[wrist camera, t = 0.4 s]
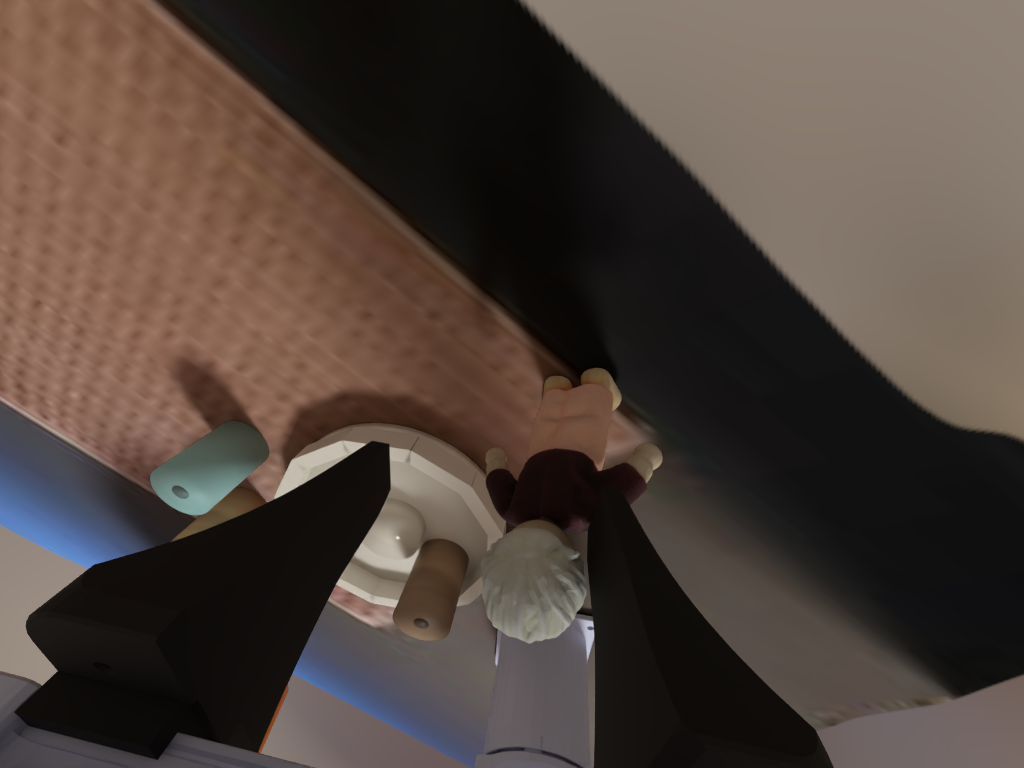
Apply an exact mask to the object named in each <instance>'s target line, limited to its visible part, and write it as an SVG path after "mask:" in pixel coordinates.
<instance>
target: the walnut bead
mask: <svg viewBox="0 0 1024 768" xmlns="http://www.w3.org/2000/svg"><path fill="white" fill-rule="evenodd" d="M468 563H469V557H468V554H467V553H466V551H465V550H464V549H463V548H462V547H461V546H460V545H458V544H457V543H455V542H452V541H450V540H446V539H431V540H428V541H426V542H425V543H424V544H423V545H422V546H421V549H420V551H419V553H418V556H417V558H416V560H415V563H414V565H413V568H412V570H411V572H410V575H409V577H408V579H407V582H406V584H405V587H404V589H403V591H402V594H401V596H400V598H399V601H398V603H397V606H396V608H395V610H394V613H393V621H394V623H395V624H396V626H397V627H398V628H399V629H400V630H401V631H403V632H404V633H406V634H407V635H409V636H411V637H414V638H417V639H421V640H426V641H436V640H440V639H443V638H445V637H446V636H447V635H448V634H449V632H450V629H451V625H452V621H453V618H454V614H455V610H456V607H457V603H458V599H459V596H460V592H461V589H462V585H463V581H464V578H465V574H466V570H467V567H468Z"/></svg>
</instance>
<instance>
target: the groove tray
mask: <svg viewBox="0 0 1024 768" xmlns="http://www.w3.org/2000/svg"><path fill="white" fill-rule="evenodd" d="M371 441H377V442H382V443H387V444H390V478H391V490H390V492H389V494H388V497H387V499H386V501H385V503H384V505H383V507H382V509H381V512H380V514H379V516H378V517H377V519H376V521H375V522H374V524H373V526H372V527H371V529H370V530H369V532H368V534H367V535H366V537H365V539H364V540H363V542H362V543H361V545H360V546H359V548H358V550H357V551H356V553H355V554H354V556H353V558H352V559H351V561H350V562H349V564H348V566H347V567H346V569H345V570H344V572H343V573H342V575H341V577H340V578H339V580H338V582H337V584H336V585H338V586H340V587H342V588H344V589H346V590H347V591H349V592H351V593H353V594H355V595H357V596H359V597H361V598H363V599H365V600H367V601H369V602H372V603H375V604H380V605H385V606H391V607H396V606H397V603H398V601H399V598H400V596H401V594H402V591H403V589H404V587H405V584H406V582H407V579H408V577H409V575H410V572H411V570H412V568H413V565H414V563H415V560H416V558H417V556H418V553H419V551H420V549H421V546H422V545H423V544H424V543H425V542H426V541H428V540H431V539H446V540H450V541H452V542H455V543H457V544H458V545H460V546H461V547H462V548H463V549H464V550H465V551H466V553H467V554H468V557H469V563H468V567H467V570H466V574H465V578H464V581H463V585H462V589H461V592H460V596H459V599H458V603H457V606H462V605H468V604H470V603H471V602H472V601H474V600H475V599H476V598H477V597H478V596H479V595H480V594H482V588H483V583H482V570H481V561H482V560H483V556H484V554H485V553H486V552H487V551H488V550H490V546H491V544H492V543H495V542H496V541H497V540H498V539H499V538H502V537H503V536H504V535H505V534H506V530H507V523H506V521H505V520H504V519H503V518H502V517H500V515H499V514H498V513H497V511H496V509H495V508H494V506H493V503H492V501H491V498H490V495H489V492H488V490H487V488H486V483H485V482H486V477H487V475H486V474H485V473H484V472H483V471H482V470H481V469H480V468H479V467H478V465H477V464H475V463H474V462H473V461H472V460H471V459H470V458H468V457H467V456H466V455H465V454H463V453H462V452H461V451H459V450H458V449H456V448H455V447H453V446H452V445H450V444H448V443H446V442H444V441H443V440H441V439H439V438H437V437H434V436H432V435H430V434H427V433H425V432H422V431H419V430H416V429H412V428H409V427H405V426H400V425H394V424H385V423H362V424H356V425H350V426H346V427H343V428H340V429H337V430H335V431H333V432H331V433H329V434H327V435H325V436H324V437H322V438H321V439H320V440H318V441H317V442H314V443H312V444H309V445H307V446H306V447H305V448H304V449H303V450H302V451H301V452H300V453H299V454H297V455H296V456H295V457H294V458H293V459H292V460H291V462H290V465H289V467H288V469H287V471H286V473H285V475H284V477H283V480H282V482H281V484H280V486H279V488H278V490H277V492H276V495H275V497H274V499H276V498H278V497H280V496H282V495H284V494H286V493H288V492H289V491H291V490H293V489H295V488H296V487H298V486H300V485H302V484H303V483H305V482H307V481H309V480H310V479H312V478H314V477H316V476H317V475H319V474H321V473H322V472H324V471H325V470H327V469H329V468H330V467H332V466H333V465H335V464H337V463H338V462H340V461H341V460H343V459H344V458H346V457H347V456H349V455H350V454H352V453H354V452H355V451H357V450H358V449H360V448H361V447H363V446H364V445H366V444H368V443H369V442H371Z"/></svg>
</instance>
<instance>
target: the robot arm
mask: <svg viewBox="0 0 1024 768" xmlns="http://www.w3.org/2000/svg"><path fill="white" fill-rule="evenodd" d="M390 490H391V478H390V444H387V443H382V442H377V441H371V442H369V443H368V444H366V445H364V446H363V447H361V448H360V449H358V450H357V451H355V452H354V453H352V454H350V455H349V456H347V457H346V458H344V459H343V460H341V461H340V462H338V463H337V464H335V465H333V466H332V467H330V468H329V469H327V470H325V471H324V472H322V473H321V474H319V475H317V476H316V477H314V478H312V479H310V480H309V481H307V482H305V483H303V484H302V485H300V486H298V487H296V488H295V489H293V490H291V491H289V492H288V493H286V494H284V495H282V496H280V497H278V498H276V499H274V500H272V501H270V502H268V503H266V504H264V505H262V506H260V507H257V508H255V509H253V510H251V511H249V512H247V513H244V514H242V515H240V516H237V517H235V518H232V519H230V520H228V521H225V522H223V523H220V524H218V525H215V526H213V527H211V528H208V529H206V530H203V531H200V532H197V533H195V534H192V535H189V536H186V537H184V538H181V539H178V540H175V541H172V542H169V543H166V544H163V545H160V546H157V547H154V548H151V549H147V550H144V551H140V552H137V553H134V554H130V555H127V556H123V557H120V558H116V559H113V560H110V561H106V562H102V563H99V564H95V565H93V566H92V567H91V568H89V569H88V570H87V571H85V572H84V573H83V574H82V575H80V576H79V577H78V578H76V579H75V580H74V581H73V582H72V583H70V584H69V585H68V586H66V587H65V588H64V589H62V590H61V591H60V592H59V593H57V594H56V595H55V596H53V597H52V598H51V599H50V600H48V601H47V602H46V603H44V604H43V605H42V606H41V607H39V608H38V609H37V610H36V611H34V612H33V613H32V614H31V615H29V617H28V620H27V621H26V629H27V633H28V635H29V636H30V638H31V639H32V641H33V642H34V643H35V644H36V646H37V647H38V648H39V649H40V650H41V652H42V653H43V654H44V655H45V656H46V657H47V659H48V660H49V661H50V662H51V663H52V664H53V665H54V667H55V668H56V669H57V670H58V672H56V673H55V674H54V675H53V676H52V677H51V678H50V679H49V680H48V681H47V682H46V683H45V684H44V685H43V686H41V685H40V684H39V683H37V682H35V681H33V680H30V679H28V678H25V677H21V676H17V675H13V674H9V673H5V672H1V671H0V768H314V767H310V766H306V765H303V764H299V763H295V762H291V761H287V760H283V759H279V758H275V757H272V756H268V755H264V754H260V753H258V751H259V749H260V747H261V744H262V742H263V739H264V737H265V735H266V732H267V730H268V728H269V725H270V723H271V721H272V718H273V716H274V714H275V711H276V709H277V707H278V704H279V702H280V700H281V697H282V695H283V693H284V691H285V688H286V686H287V684H288V682H289V679H290V677H291V675H292V673H293V671H294V669H295V666H296V664H297V662H298V660H299V658H300V655H301V653H302V651H303V649H304V647H305V645H306V643H307V641H308V639H309V637H310V635H311V633H312V631H313V628H314V626H315V624H316V622H317V620H318V618H319V616H320V614H321V612H322V610H323V608H324V606H325V604H326V602H327V600H328V599H329V597H330V595H331V593H332V591H333V589H334V587H335V585H336V584H337V582H338V580H339V578H340V577H341V575H342V573H343V572H344V570H345V569H346V567H347V566H348V564H349V562H350V561H351V559H352V558H353V556H354V554H355V553H356V551H357V550H358V548H359V546H360V545H361V543H362V542H363V540H364V539H365V537H366V535H367V534H368V532H369V530H370V529H371V527H372V526H373V524H374V522H375V521H376V519H377V517H378V516H379V514H380V512H381V509H382V507H383V505H384V503H385V501H386V499H387V497H388V494H389V492H390ZM587 562H588V574H589V585H590V595H591V605H592V616H593V617H592V616H587V615H581V614H576V615H575V618H574V620H573V621H572V622H571V624H570V626H569V627H567V628H566V630H565V631H564V632H562V633H561V634H560V635H559V636H558V637H556V638H551V639H544V640H543V641H534V642H533V643H527V642H525V641H522V640H520V639H517V638H515V637H510V636H507V635H506V634H504V633H503V632H502V631H500V630H499V629H498V633H497V646H496V658H495V664H496V666H497V669H496V676H495V682H494V688H493V695H492V701H491V708H490V714H489V721H488V727H487V733H486V740H485V746H484V753H483V754H477V757H476V763H475V768H591V763H590V733H589V704H588V675H587V660H588V657H589V654H590V650H591V647H592V643H593V640H594V639H595V750H594V768H834V767H833V765H832V763H831V761H830V758H829V756H828V754H827V752H826V750H825V748H824V746H823V744H822V742H821V740H820V738H819V736H818V734H817V732H816V730H815V729H814V728H813V727H812V726H811V725H810V724H808V723H807V722H806V721H805V720H804V719H803V718H802V717H801V716H800V715H799V714H798V713H797V712H796V711H794V710H793V709H792V708H791V707H790V706H789V705H788V704H787V703H786V702H785V701H784V700H783V699H781V698H780V697H779V696H778V695H777V694H776V693H775V692H774V691H773V690H772V689H771V688H770V687H769V686H768V685H767V684H766V683H765V682H764V681H763V680H762V679H761V678H760V677H759V676H758V675H757V674H756V673H755V672H754V671H753V670H752V669H751V668H750V667H749V666H748V665H747V664H746V663H745V662H744V661H743V660H742V659H741V658H740V657H739V656H738V655H737V654H736V653H735V652H734V651H733V650H732V648H731V647H730V646H729V645H728V644H727V643H726V642H725V641H724V640H723V638H722V637H721V636H720V635H719V634H718V633H717V632H716V631H715V629H714V628H713V627H712V626H711V625H710V624H709V623H708V621H707V620H706V619H705V618H704V617H703V615H702V614H701V613H700V612H699V611H698V609H697V608H696V607H695V606H694V604H693V603H692V602H691V600H690V599H689V598H688V597H687V595H686V594H685V593H684V591H683V590H682V589H681V587H680V586H679V585H678V583H677V582H676V580H675V579H674V578H673V576H672V575H671V573H670V572H669V570H668V569H667V567H666V566H665V564H664V563H663V561H662V560H661V558H660V557H659V555H658V553H657V552H656V550H655V549H654V547H653V545H652V544H651V542H650V540H649V539H648V537H647V535H646V534H645V532H644V530H643V529H642V527H641V525H640V523H639V521H638V520H637V518H636V516H635V514H634V512H633V511H632V509H631V507H630V505H629V503H628V501H627V499H626V497H625V495H624V493H623V492H622V490H621V489H616V488H611V487H606V486H602V488H601V491H600V494H599V497H598V500H597V503H596V506H595V509H594V512H593V515H592V519H591V522H590V525H589V528H588V545H587Z"/></svg>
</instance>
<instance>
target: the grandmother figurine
mask: <svg viewBox="0 0 1024 768" xmlns="http://www.w3.org/2000/svg"><path fill="white" fill-rule="evenodd" d="M581 385H582V386H579V387H576V388H573V386H572V383H571V382H570V380H568V379H567V378H565V377H563V376H551V377H549V378H548V379H547V380H546V381H545V384H544V393H543V399H542V402H541V405H540V408H539V410H538V412H537V415H536V418H535V422H534V426H533V431H532V436H531V441H530V445H529V451H528V455H527V461H526V463H525V466H524V468H523V470H522V472H521V473H520V476H519V479H518V481H516V480H515V478H514V477H513V476H512V474H511V473H510V471H509V469H508V465H507V463H506V462H507V456H506V453H505V451H504V450H503V449H501V448H498V447H494V448H491V449H490V450H488V452H487V453H486V457H485V460H486V463H487V467H486V474H487V477H486V482H485V483H486V488H487V490H488V492H489V495H490V498H491V501H492V503H493V506H494V508H495V509H496V511H497V513H498V514H499V515H500V517H502V518H503V519H504V520H505V521H507V522H508V523H509V524H511V525H512V526H514V527H515V528H514V529H513V530H512V531H511V532H509V533H507V534H505V535H504V536H503V537H502V538H499V539H498V540H497V541H496V542H495V543H492V544H491V546H490V550H488V551H487V552H486V553H485V554H484V556H483V560H482V561H481V570H482V583H483V588H482V596H483V600H484V603H485V607H486V613H487V616H488V618H489V619H490V621H491V622H492V625H493V626H494V627H495V628H497V629H499V630H500V631H502V632H503V633H504V634H506V635H507V636H510V637H515V638H517V639H520V640H522V641H525V642H527V643H533V642H534V641H543V640H544V639H551V638H556V637H558V636H559V635H560V634H561V633H562V632H564V631H565V630H566V628H567V627H569V626H570V624H571V622H572V621H573V620H574V618H575V615H576V613H577V611H578V610H579V609H580V608H581V607H582V605H583V601H584V598H585V597H586V578H585V567H584V562H583V561H582V559H581V558H580V557H579V556H578V555H580V553H579V552H576V551H575V550H574V547H573V544H572V542H571V541H570V539H569V538H568V536H567V535H568V534H574V533H578V532H584V531H588V528H589V525H590V522H591V519H592V515H593V512H594V509H595V506H596V503H597V500H598V497H599V494H600V491H601V488H602V486H606V487H611V488H616V489H621V490H622V492H623V493H624V495H625V497H626V499H627V501H628V503H629V505H631V504H632V503H633V502H634V501H635V500H636V499H637V498H638V497H639V496H640V495H641V494H642V493H643V492H644V491H645V490H646V489H647V484H646V483H647V482H648V480H649V479H650V477H651V476H652V472H653V470H655V469H656V468H658V467H659V466H660V464H661V462H662V453H661V451H660V450H659V449H658V448H657V447H656V446H655V445H653V444H649V443H644V444H641V445H639V446H638V447H637V448H636V449H635V451H634V454H633V456H631V457H629V458H628V459H627V460H626V461H625V462H624V463H622V464H620V465H616V466H615V467H612V468H610V469H606V470H602V467H603V464H604V460H605V453H606V448H607V442H608V436H609V431H610V427H611V422H612V413H613V410H614V409H616V408H617V407H618V406H619V404H620V402H621V393H620V391H619V389H618V387H617V386H616V384H615V383H614V381H613V379H612V377H611V375H610V374H609V373H608V372H607V371H606V370H605V369H602V368H592V369H589V370H586V371H585V372H584V373H583V374H582V376H581Z"/></svg>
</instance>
